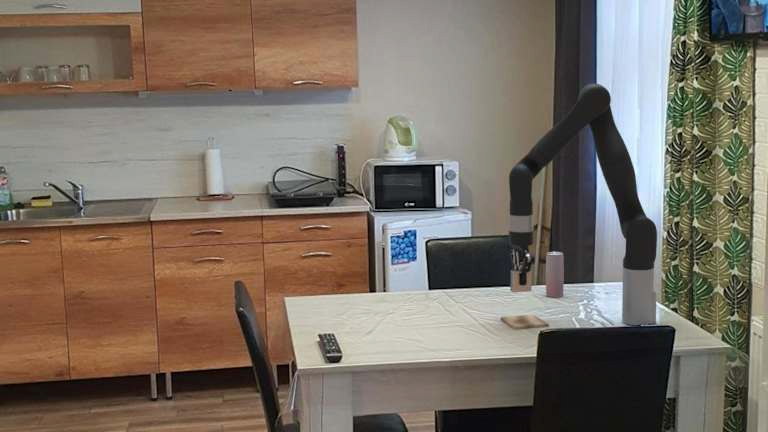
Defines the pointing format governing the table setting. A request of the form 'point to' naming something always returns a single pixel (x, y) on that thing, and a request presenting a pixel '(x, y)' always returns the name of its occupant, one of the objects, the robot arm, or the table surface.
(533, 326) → the tan wavy tile
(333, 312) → the table surface
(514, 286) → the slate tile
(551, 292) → the beverage can
